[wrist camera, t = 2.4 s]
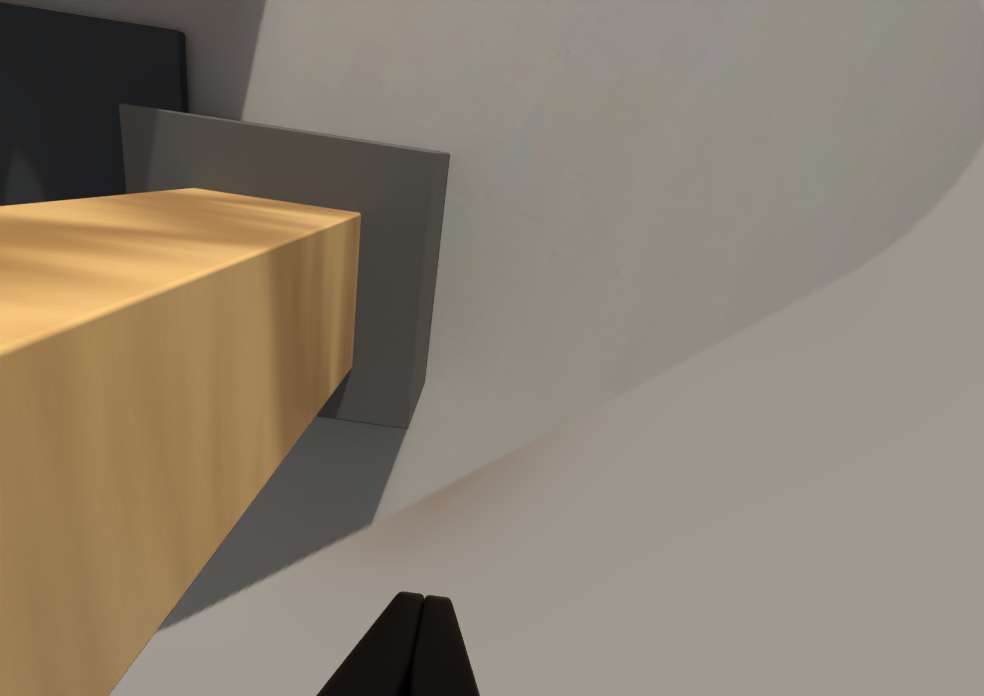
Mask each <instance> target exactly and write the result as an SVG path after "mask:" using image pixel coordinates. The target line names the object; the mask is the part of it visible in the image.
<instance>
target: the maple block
mask: <svg viewBox="0 0 984 696" xmlns="http://www.w3.org/2000/svg"><path fill="white" fill-rule="evenodd" d="M360 226H361V214H360V213H357V212H351V211H344V210H337V209H331V208H324V207H317V206H311V205H304V204H297V203H291V202H284V201H278V200H271V199H264V198H258V197H251V196H244V195H238V194H231V193H224V192H218V191H211V190H204V189H198V188H188V189H177V190H167V191H156V192H146V193H135V194H125V195H114V196H103V197H93V198H82V199H72V200H61V201H51V202H40V203H30V204H19V205H9V206H0V696H109V694H110V693H111V692H112V690H113V689H114V688H115V686H116V685H117V684H118V682H119V681H120V680H121V678H122V677H123V676H124V674H125V673H126V672H127V670H128V669H129V667H130V666H131V665H132V663H133V662H134V661H135V659H136V658H137V657H138V655H139V654H140V653H141V651H142V650H143V649H144V647H145V646H146V645H147V643H148V642H149V640H150V639H151V638H152V636H153V635H154V634H155V632H156V631H157V630H158V628H159V627H160V626H161V624H162V623H163V622H164V620H165V619H166V618H167V616H168V615H169V613H170V612H171V611H172V609H173V608H174V607H175V605H176V604H177V603H178V601H179V600H180V599H181V597H182V596H183V595H184V593H185V592H186V591H187V589H188V588H189V587H190V585H191V584H192V582H193V581H194V580H195V578H196V577H197V576H198V574H199V573H200V572H201V570H202V569H203V568H204V566H205V565H206V564H207V562H208V561H209V560H210V558H211V557H212V555H213V554H214V553H215V551H216V550H217V549H218V547H219V546H220V545H221V543H222V542H223V541H224V539H225V538H226V537H227V535H228V534H229V533H230V531H231V530H232V528H233V527H234V526H235V524H236V523H237V522H238V520H239V519H240V518H241V516H242V515H243V514H244V512H245V511H246V510H247V508H248V507H249V506H250V504H251V503H252V501H253V500H254V499H255V497H256V496H257V495H258V493H259V492H260V491H261V489H262V488H263V487H264V485H265V484H266V483H267V481H268V480H269V479H270V477H271V476H272V474H273V473H274V472H275V470H276V469H277V468H278V466H279V465H280V464H281V462H282V461H283V460H284V458H285V457H286V456H287V454H288V453H289V452H290V450H291V449H292V447H293V446H294V445H295V443H296V442H297V441H298V439H299V438H300V437H301V435H302V434H303V433H304V431H305V430H306V429H307V427H308V426H309V425H310V423H311V422H312V420H313V419H314V418H315V416H316V415H317V414H318V412H319V411H320V410H321V408H322V407H323V406H324V404H325V403H326V402H327V400H328V399H329V398H330V396H331V395H332V393H333V392H334V391H335V389H336V388H337V387H338V385H339V384H340V383H341V381H342V380H343V379H344V377H345V376H346V375H347V373H348V372H349V371H350V369H351V368H352V362H353V345H354V328H355V311H356V294H357V277H358V260H359V243H360Z"/></svg>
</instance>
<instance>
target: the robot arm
mask: <svg viewBox="0 0 984 696" xmlns="http://www.w3.org/2000/svg"><path fill="white" fill-rule="evenodd" d="M317 696H480V694H479V691H478V688H477V684H476V681H475V678H474V674H473V671H472V668H471V664H470V661H469V658H468V655H467V651H466V648H465V645H464V641H463V638H462V634H461V631H460V628H459V625H458V621H457V618H456V614H455V611H454V608H453V604H452V602H451V600H450V599H449V598H447V597H441V596H434V595H428V596H426V597H425V599H424V597H423V595H422V594H419V593H411V592H399V593H398V594H397V595H396V596H395V597H394V599H393V600H392V601H391V602H390V604H389V605H388V606H387V607H386V609H385V610H384V611H383V612H382V614H381V615H380V616H379V617H378V619H377V620H376V621H375V622H374V624H373V625H372V626H371V627H370V629H369V630H368V631H367V633H366V634H365V635H364V636H363V638H362V639H361V640H360V641H359V643H358V644H357V645H356V647H355V648H354V649H353V650H352V652H351V653H350V654H349V655H348V656H347V658H346V659H345V660H344V662H343V663H342V664H341V665H340V667H339V668H338V669H337V670H336V672H335V673H334V674H333V675H332V677H331V678H330V679H329V680H328V682H327V683H326V684H325V686H324V687H323V688H322V689H321V691H320V692H319V693H318V694H317Z"/></svg>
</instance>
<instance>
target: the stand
mask: <svg viewBox="0 0 984 696" xmlns="http://www.w3.org/2000/svg"><path fill="white" fill-rule="evenodd" d="M119 112H120V123H121V135H122V146H123V158H124V169H125V181H126V192H127V194H135V193H146V192H156V191H167V190H177V189H188V188H198V189H204V190H211V191H218V192H224V193H231V194H238V195H244V196H251V197H258V198H264V199H271V200H278V201H284V202H291V203H297V204H304V205H311V206H317V207H324V208H331V209H337V210H344V211H351V212H357V213H360V214H361V226H360V243H359V260H358V277H357V294H356V311H355V328H354V345H353V362H352V368H351V369H350V371H349V372H348V373H347V375H346V376H345V377H344V379H343V380H342V381H341V383H340V384H339V385H338V387H337V388H336V389H335V391H334V392H333V393H332V395H331V396H330V398H329V399H328V400H327V402H326V403H325V404H324V406H323V407H322V408H321V410H320V411H319V412H318V414H317V415H316V416H318V417H325V418H332V419H340V420H347V421H354V422H361V423H368V424H375V425H382V426H389V427H396V428H403V429H408V427H409V424H410V421H411V419H412V416H413V413H414V411H415V408H416V405H417V402H418V400H419V397H420V394H421V391H422V389H423V386H424V383H425V376H426V367H427V358H428V349H429V340H430V331H431V322H432V313H433V304H434V294H435V285H436V276H437V267H438V258H439V249H440V240H441V231H442V222H443V213H444V204H445V195H446V186H447V177H448V168H449V158H450V154H449V153H446V152H440V151H433V150H426V149H420V148H413V147H407V146H400V145H394V144H387V143H381V142H374V141H368V140H361V139H355V138H348V137H342V136H335V135H329V134H322V133H316V132H309V131H303V130H296V129H290V128H283V127H277V126H270V125H264V124H257V123H251V122H244V121H238V120H231V119H225V118H218V117H212V116H205V115H199V114H192V113H185V112H178V111H171V110H163V109H156V108H149V107H142V106H135V105H128V104H119Z"/></svg>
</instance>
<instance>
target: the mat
mask: <svg viewBox="0 0 984 696" xmlns="http://www.w3.org/2000/svg"><path fill="white" fill-rule="evenodd" d="M119 104H128V105H135V106H142V107H149V108H156V109H163V110H171V111H178V112H185V113H188V105H187V84H186V62H185V41H184V33H182V32H180V31H177V30H170V29H164V28H158V27H151V26H145V25H139V24H132V23H126V22H120V21H113V20H107V19H100V18H94V17H88V16H81V15H75V14H69V13H62V12H56V11H50V10H43V9H37V8H30V7H24V6H18V5H11V4H5V3H0V206H9V205H19V204H30V203H40V202H51V201H61V200H72V199H82V198H93V197H103V196H114V195H125V194H127V192H126V181H125V169H124V158H123V146H122V135H121V123H120V112H119Z"/></svg>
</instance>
